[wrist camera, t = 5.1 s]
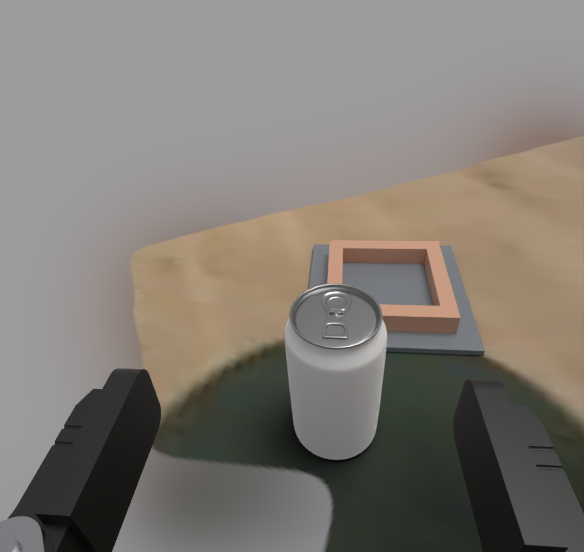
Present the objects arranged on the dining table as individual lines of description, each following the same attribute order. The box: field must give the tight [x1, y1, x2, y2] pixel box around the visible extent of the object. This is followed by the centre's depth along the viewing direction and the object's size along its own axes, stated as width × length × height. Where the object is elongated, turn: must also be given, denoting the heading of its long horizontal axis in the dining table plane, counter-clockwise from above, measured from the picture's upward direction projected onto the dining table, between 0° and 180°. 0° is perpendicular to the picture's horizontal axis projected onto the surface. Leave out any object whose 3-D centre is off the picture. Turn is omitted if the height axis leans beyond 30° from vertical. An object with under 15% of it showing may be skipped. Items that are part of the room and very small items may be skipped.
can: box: [285, 284, 387, 460], centre depth 29 cm, size 6×6×12 cm
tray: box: [309, 240, 484, 355], centre depth 44 cm, size 16×16×3 cm
